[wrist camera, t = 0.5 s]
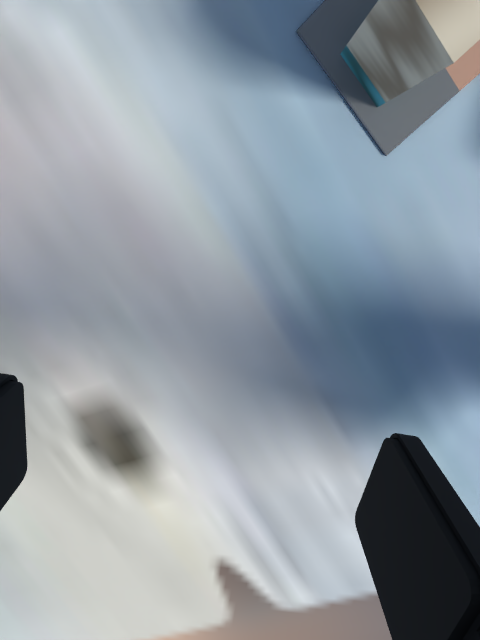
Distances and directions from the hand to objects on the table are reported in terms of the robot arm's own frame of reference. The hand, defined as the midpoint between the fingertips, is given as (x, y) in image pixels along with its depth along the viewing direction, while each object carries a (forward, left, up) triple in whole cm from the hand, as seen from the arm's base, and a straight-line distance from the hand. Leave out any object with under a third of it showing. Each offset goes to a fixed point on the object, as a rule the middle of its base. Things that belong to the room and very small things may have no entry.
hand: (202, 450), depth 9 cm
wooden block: (+4, -19, -27) cm, 33 cm away
